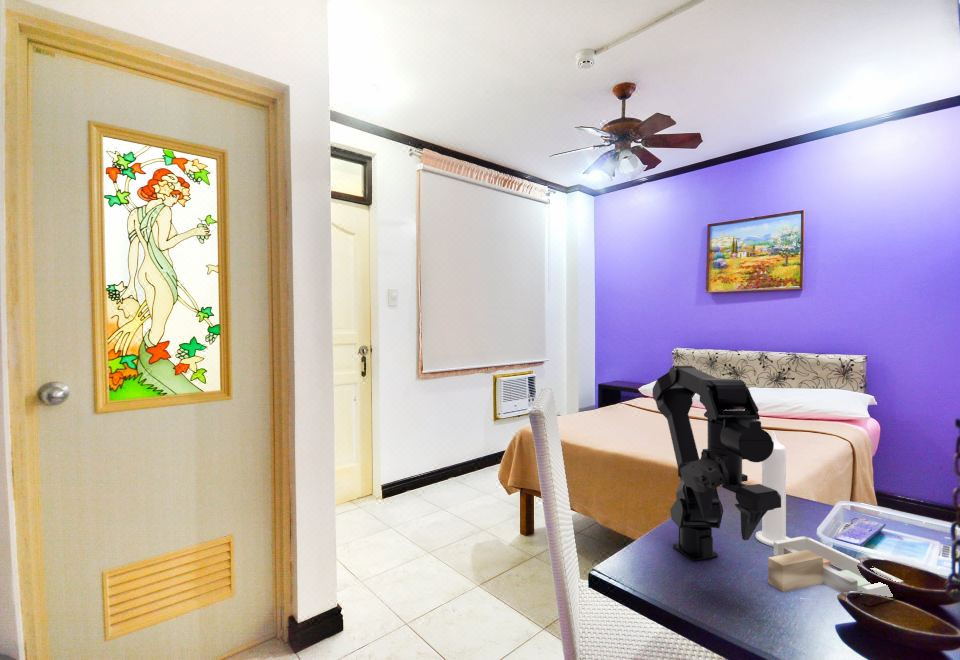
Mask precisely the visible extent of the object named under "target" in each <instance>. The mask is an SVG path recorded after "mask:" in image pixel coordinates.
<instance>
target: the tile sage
mask: <svg viewBox="0 0 960 660" xmlns="http://www.w3.org/2000/svg"><path fill="white" fill-rule="evenodd" d="M838 571H839V572H841V573H843V574H845V575H847V576H849V577H851V578H853V579H855V580H857V581H858V591H862V586H866V585H870V584H871V583H870V582H868V581H867V580H866V579H865V578H863V577H861V576H859V575H857V574H855V573H853V572H851V571H849V570H838Z"/></svg>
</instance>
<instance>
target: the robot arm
mask: <svg viewBox="0 0 960 660" xmlns="http://www.w3.org/2000/svg"><path fill="white" fill-rule="evenodd" d="M651 391H652V398H653V401H655V404H656V407H657V410H658V411H659V412H660V413H661V414H662V415H663V416H664V417H665V419H666V420H667V424H668V429H669V434H670V438H671V444H672V446H673V447H672V448H673V452H674V456H675V461H676V465H677V477H678V478H679V479H680V482H679V484H678V487H677V489H676V492H675V497H676V500H675V501H674V502H673V504H672V506H671V507H670V510H669V511H670V512H669V513H670V517H671V518H670V519H671V520H672V521H673V523H675V525H676V526H677V527H678V543H674V544H672V548H674V549H675V550H677V551H679V552H680V553H681V554H682V555H684V556H685V557H686V558H689V559H690V560H691V561H693V562H696V561H701V560H707V559H712V558H717V557H718V556H719V555H718V553H717V552H716V551H714V546H713V545H714V541H713V540H714V538H713V534H712V533H713V532H712V531H713V529H720V527H721V523H722V519H723V515H724V507H723V504H722V502H721V500H720V497H719V494H718V487H720V488H723V489H725V490H726V491H727V490H728V491H730V492H732V493H734V494H735V500H736V501H737V503H735V504H734V506H735V507H736V509H737V510H738V511H739V512H740V533H741V539H742V540H744V541H748V540H750V538H751V536H752V535H753V533H754V532H755V530H756V528H757V527H758V525H759V523H760V521H762V517H763V516H764V515H765V513H766V512H767V511H768V510H774V509H775V508H781V495H780V494H779V493H778V492H777V491H776V490H774V489H771V488H769V487H766V486H763V485H762V483H757V484H755V483H754V484H750V485H745V484H742V482H748V479H749V478H748V475H746V474H744V473H743V460H747V461H748V462H752V463H762V461H764V460H766V459H767V458H769V456H770V455H771V454H772V452H773V448H774V442H773V441H772V438H771V436H772V435H770V434H769V432H767V431H766V430H764V429H763V428H762V422H761V418H760V414H759V408H758V406H757V403H756V402H755V401H754V398H753V396H752V394H751V391H750V388H749V387H748V386H747V384H746V383H745V382H744V381H743V380H741V379H738V378H737V379H736V378H735V379H734V378H722V377H721V378H720V377H718V378H717V376H716V377H715V376H713V375H711V374H708V373H706V372H704V371H701V370H699V369H697V368H696V367H695V366H693V365H674V366H671V367H670V368H669V371H668V372H667V373H665V374H663V375H662V376H660V377H658V378H657V379H656V382H655V383H654V385H653V386H652V390H651ZM696 394H697V396H699V402H700V403H701V404H702V405H703V406H704V408H705V410H706V411H705V412H704V413H703V417H704V418H707V448H702V451H701V453H700V457H699V451H698V449H697V443H696V440H695V436H694V432H693V428H692V424H691V421H690V415H689V413H690V411H691V408H692V405H693V398H694V396H695V395H696Z"/></svg>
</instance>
